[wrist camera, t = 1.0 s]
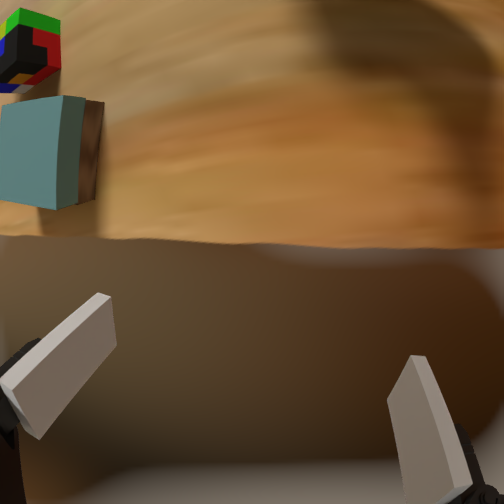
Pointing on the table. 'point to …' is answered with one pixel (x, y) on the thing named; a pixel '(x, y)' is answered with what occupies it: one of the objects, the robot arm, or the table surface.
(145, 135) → the table surface
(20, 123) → the top block
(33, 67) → the puzzle toy
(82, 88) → the table surface
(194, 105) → the table surface
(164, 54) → the table surface
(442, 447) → the robot arm
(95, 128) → the base block
